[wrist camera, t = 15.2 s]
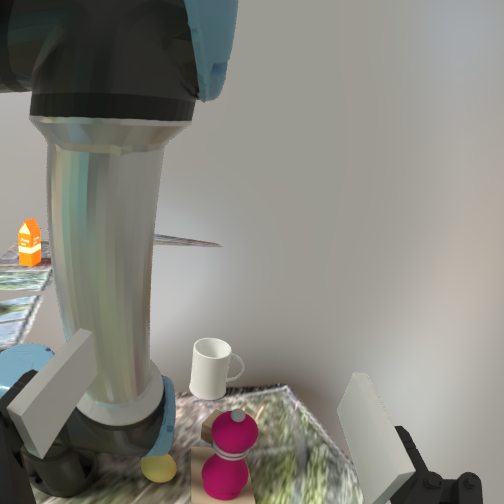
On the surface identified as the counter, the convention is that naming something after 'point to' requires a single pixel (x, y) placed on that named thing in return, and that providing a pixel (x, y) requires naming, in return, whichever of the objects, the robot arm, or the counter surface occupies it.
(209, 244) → the counter surface
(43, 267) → the counter surface
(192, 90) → the robot arm
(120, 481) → the counter surface
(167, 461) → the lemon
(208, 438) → the walnut block
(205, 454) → the serving board
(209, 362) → the mug
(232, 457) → the pepper mill
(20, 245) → the orange juice
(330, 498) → the counter surface
